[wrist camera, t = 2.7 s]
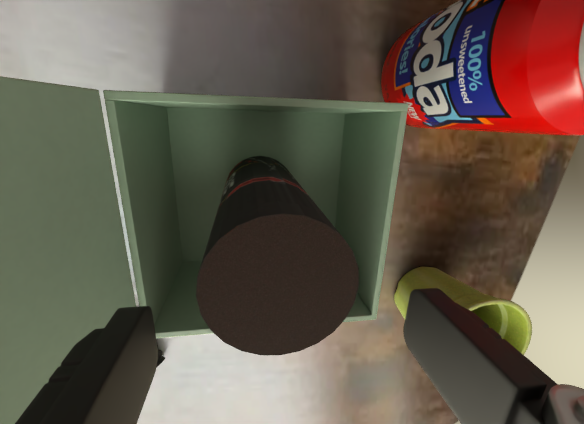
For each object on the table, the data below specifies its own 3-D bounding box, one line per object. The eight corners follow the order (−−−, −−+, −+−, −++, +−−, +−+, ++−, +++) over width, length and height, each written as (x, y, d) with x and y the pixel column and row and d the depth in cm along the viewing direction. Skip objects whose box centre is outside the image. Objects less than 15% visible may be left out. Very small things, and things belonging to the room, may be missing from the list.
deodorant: (234, 147, 23) (215, 194, 9) (302, 166, 24) (382, 233, 10) (218, 214, 24) (181, 346, 10) (283, 228, 26) (330, 362, 12)
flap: (143, 347, 16) (137, 347, 16) (98, 89, 12) (90, 89, 12) (10, 516, 9) (-1, 514, 9) (-214, 47, 5) (-232, 46, 5)
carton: (179, 263, 26) (144, 339, 17) (161, 101, 21) (102, 89, 12) (335, 255, 28) (376, 319, 19) (348, 108, 24) (409, 103, 15)
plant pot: (437, 233, 29) (512, 279, 21) (470, 291, 32) (546, 350, 24) (364, 286, 30) (408, 350, 21) (403, 337, 33) (455, 409, 25)
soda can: (447, 132, 26) (692, 148, 12) (367, 121, 24) (537, 125, 10) (473, 34, 23) (823, -94, 9) (387, 16, 22) (645, -170, 8)
